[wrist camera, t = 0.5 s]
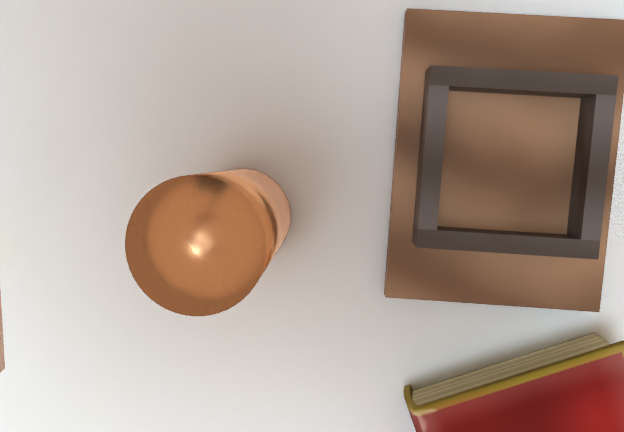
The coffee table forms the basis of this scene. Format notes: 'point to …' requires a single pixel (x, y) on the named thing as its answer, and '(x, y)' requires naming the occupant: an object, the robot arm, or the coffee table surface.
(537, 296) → the duct base
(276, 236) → the brushed copper cylinder
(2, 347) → the robot arm
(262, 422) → the coffee table surface
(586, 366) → the hardcover book
